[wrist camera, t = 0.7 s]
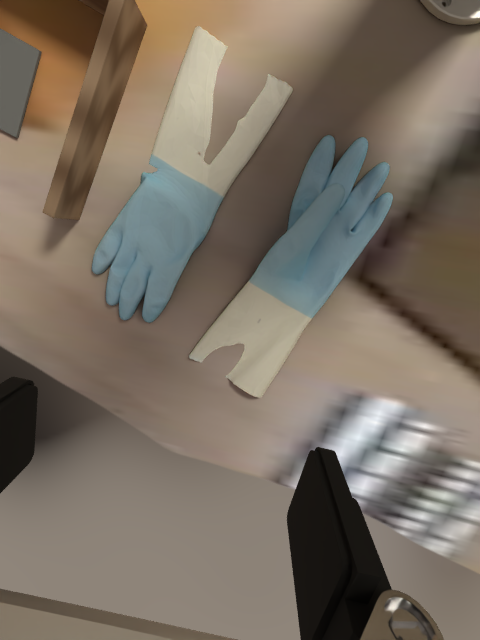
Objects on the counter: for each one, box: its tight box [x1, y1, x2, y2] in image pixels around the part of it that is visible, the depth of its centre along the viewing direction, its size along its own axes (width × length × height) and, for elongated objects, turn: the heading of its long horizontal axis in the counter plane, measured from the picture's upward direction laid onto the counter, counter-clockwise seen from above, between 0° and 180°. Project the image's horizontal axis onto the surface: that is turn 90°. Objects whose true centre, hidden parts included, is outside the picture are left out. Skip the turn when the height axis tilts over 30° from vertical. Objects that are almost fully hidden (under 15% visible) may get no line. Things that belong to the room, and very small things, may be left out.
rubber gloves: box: [92, 26, 393, 398], centre depth 34 cm, size 27×33×6 cm
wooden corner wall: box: [43, 0, 147, 220], centre depth 31 cm, size 21×21×5 cm
